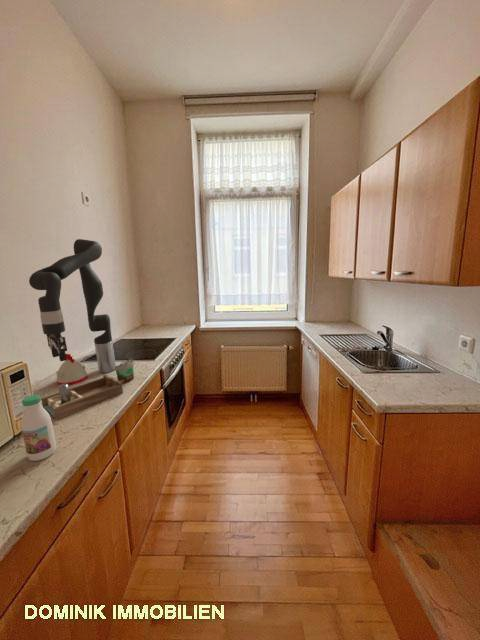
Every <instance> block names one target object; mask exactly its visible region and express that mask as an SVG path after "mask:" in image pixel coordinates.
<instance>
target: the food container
mask: <svg viewBox="0 0 480 640" xmlns="http://www.w3.org/2000/svg"><path fill="white" fill-rule="evenodd" d="M134 365H135V362H134V359H133V358H131V357H129V358H128V357H127V360H126V361H123V362H121V363H120V364H119V365H116V366H115V370H114V371H115V373H116V377H117V380H118V381H120V382H122V384H126V383H129V382H131V381H133V380H134V374H135V371H134Z"/></svg>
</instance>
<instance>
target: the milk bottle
mask: <svg viewBox="0 0 480 640" xmlns="http://www.w3.org/2000/svg"><path fill="white" fill-rule="evenodd" d="M41 399H42V396H41V395H40V394H33V395H29V396H26V397H24V398H23V399H22V400H21V402H22V406H23V408H24V411H23V416H22V419H21V431H22V432H21V433H22V438H23V442H24V443H23V444H24V446H25V452H26V455H27V459H28V460H29V461H31V462H38V461H42V460H45V459H47V458H49V457H50V456H52V455H54V453H55V452H56V451H57V442H56V436H55V431H54V426H53V422H52V418H51V415H50V414H49V413H48V412H47V411H46V410H45V409H44V408H43V405H42V400H41Z"/></svg>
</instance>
